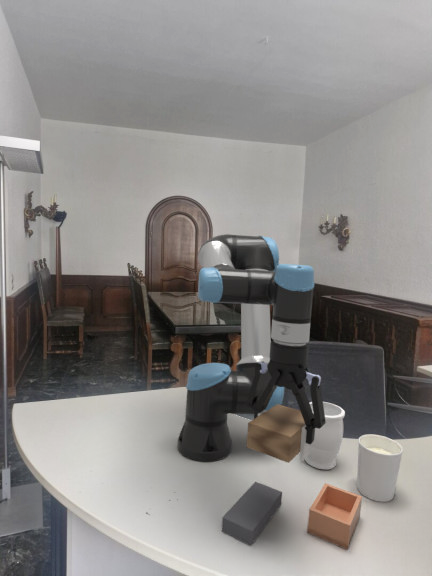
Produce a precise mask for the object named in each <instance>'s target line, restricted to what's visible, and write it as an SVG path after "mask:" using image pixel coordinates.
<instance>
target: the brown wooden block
mask: <svg viewBox="0 0 432 576" xmlns="http://www.w3.org/2000/svg"><path fill="white" fill-rule="evenodd" d="M247 423H248V424H247V432H246V433H247V435H246V436H247V437H246V448H248V449H251V450H253V451H256V452H259V453H262V454H264V455H267V456H270V457H272V458H274V459H278V460H281V461H283V462H286V463H288V464H289V463H290V462H291V461H292V460H294V459H295V457H296V456H298V454H300V446H301V433H302V427H303V426H304V425H305V422H304V419H303V416H302V414H301V411H300V409H296V408H292V407H289V406H285V405H282V404H281V405H279V404H276V405H275V406H273V407H272V408H270V409H269V410H267V411H266V412H264V413H263V414H261V415H259V416H258V417H256V418H255V419H254V418H253V419H252V420H250V421H249V422H247Z"/></svg>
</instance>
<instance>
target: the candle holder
mask: <svg viewBox="0 0 432 576" xmlns="http://www.w3.org/2000/svg"><path fill="white" fill-rule="evenodd" d="M357 441H358V445H357V447H358V448H357V450H358V451H357V474H356V487H357V490H358V492H359V493H360V494H362V496H364V497H366V498H367V499H369V500H371V501H374V502H375V501H376V502H380V503H381V502H382V503H385V502H387V503H388V502H389V501H392V500H393V499H394V497H395V492H396V487H397V482H398V477H399V471H400V467H401V466H400V465H401V461H402V454H403V452H404V449H403V446H402V445H401V444H400V443H398V442H397V441H396V440H394V439H391V438H389V437H387V436H383V435H381V434H380V435H379V434H369V433H368V434H363V435H361V436H359V437H358V440H357Z"/></svg>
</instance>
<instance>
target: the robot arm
mask: <svg viewBox="0 0 432 576" xmlns="http://www.w3.org/2000/svg"><path fill="white" fill-rule="evenodd" d="M197 255H198V262H199V265H200V266H201V267H202V268H201V269H200V270H199V273H198V281H197V283H198V284H197V286H198V288H197V292H198V293H197V297H198V299H199V300H200V302H209V303H212V304H218V303H219V304H240V309H241V310H240V312H241V313H240V318H241V319H240V321H241V322H240V323H241V325H240V331H241V332H240V333H241V334H240V335H241V337H240V338H241V347H240V348H241V349H240V350H241V353H240V354H241V359H240V360H239V361H238V362H237V363H236V364H235V366H236V367H235V369H236V370H232V369H231V366H230V365H229V364H226V363H220V362H208V363H202V364H199V365H197V366H194V367H192V368H191V369H190V371H188V374H187V382H186V386H185V387H186V401H185V419H184V422H183V425H182V427H181V430H180V432H179V434H178V437H177V449H178V452H179V453H180V454H181V455H182V456H183V457H186V458H188V459H190V460H193V461H198V462H215V461H219V460H223V459H224V458H226V457H228V456H229V455H230V454H231V452H232V446H233V445H232V443H233V441H232V438H231V434H230V429H229V425H228V414H230V415H232V414H234V415H253V419H255V418H256V417H258V416H259V415H261V414H263V413H264V412H266V411H267V410H269V409H270V408H272V407H273V406H275V405H276V404H279V405H282V404H283V400H284V395H285V389H287V390H289V391H291V392H292V394H293V396H294V397H295V400H296V402H297V405H298V408H299V410H300V411H301V414H302V416H303V419H304V422H305V425H304V426H303V427H302V433H301V446H300V452H299V460H300V461H303V462H304V461H305V458H306V457H307V456H308V452H309V444H311V443H312V442H313V441H314V436H315V428H318V429H320V428H321V427H322V426H323V425H324V424H325V423H326V421H325V414H324V407H323V402H324V400H323V395H322V394H323V393H322V387H321V386H322V380H323V375H322V374H320V373H318V374H314V373H311V372H309V369H308V367H307V366H308V359H309V345H308V343H309V342H310V334H311V332H310V331H311V330H310V329H311V321H312V320H311V318H312V309H313V297H314V288H315V270H314V268H313V266H312V265H305V264H293V263H290V264H289V263H280V251H279V247H278V244H277V242H276V240H274V238H272V237H267V236H262V235H258V236H255V235H241V234H237V235H236V234H228V233H227V234H220V235H217V236H213V237H211V238H209V239H208V240H206V241H204V243H202V245H201V246H200V247H199V250H198V254H197ZM270 306H272V320H271V312H270V311H271V308H270ZM271 339H272V340H271ZM306 379H307V381H308V385H309V387H310V389H309V390H310V397H311V402H312V406H313V412H312V409H311V406H310V400H309V399H308V396H307V393H306V387H305V384H304V381H305V380H306ZM313 413H314V414H313Z"/></svg>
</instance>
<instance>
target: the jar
mask: <svg viewBox="0 0 432 576" xmlns="http://www.w3.org/2000/svg"><path fill="white" fill-rule="evenodd" d="M309 403H310V406H311V409H312V412H313V406H312V401H309ZM323 407H324V414H325V421H326V423H325V424H324V425H323V426H322V427H321V428H320V429H318V428H315V436H314V441H313V442H312V443H311V444H309V452H308V456H307V457H306V458H305V459H304V461H305V462H306V463H307V464H308V465H309V466H311V467H313V468H315V469H319V470H324V471H325V470H331V469H334V468H335V467H336V465H337V461H336V458H337V457H338V454H339V452H340V449H341V445H342V441H343V439H344V438H343V436H344V420H343V419H344V418H345V415H346V411H345V410H344V409H343V408H342V407H341V406H339V405H336V404H335V403H330V402H326V401H323ZM313 414H314V413H313Z"/></svg>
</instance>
